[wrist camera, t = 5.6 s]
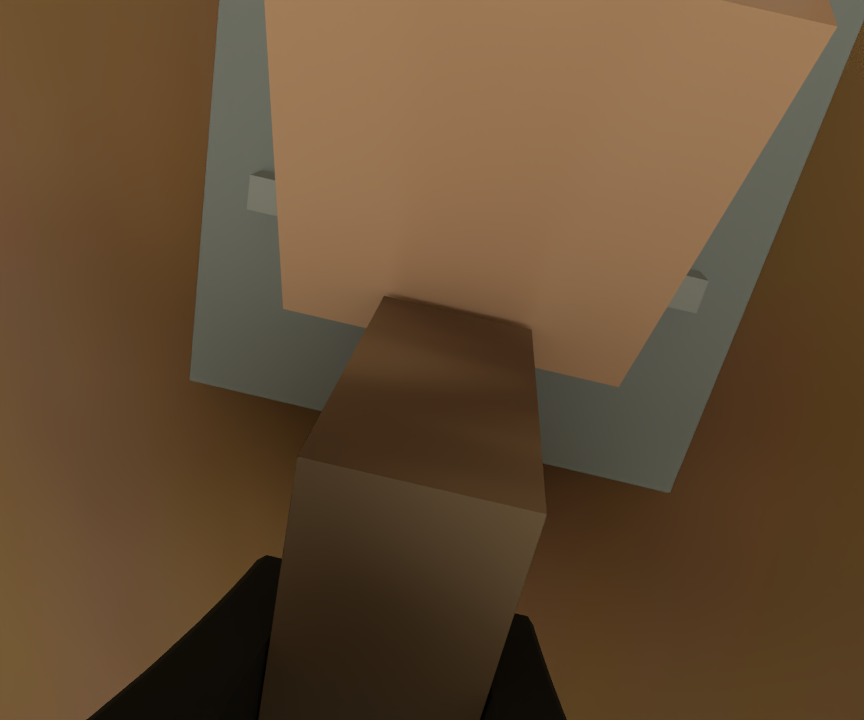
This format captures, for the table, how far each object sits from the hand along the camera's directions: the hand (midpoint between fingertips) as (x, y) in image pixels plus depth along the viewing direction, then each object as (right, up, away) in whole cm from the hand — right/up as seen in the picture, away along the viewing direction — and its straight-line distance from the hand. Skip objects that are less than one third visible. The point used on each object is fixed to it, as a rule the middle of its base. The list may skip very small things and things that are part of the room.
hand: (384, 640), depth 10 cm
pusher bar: (0, +1, +3) cm, 3 cm away
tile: (+1, +5, +3) cm, 6 cm away
